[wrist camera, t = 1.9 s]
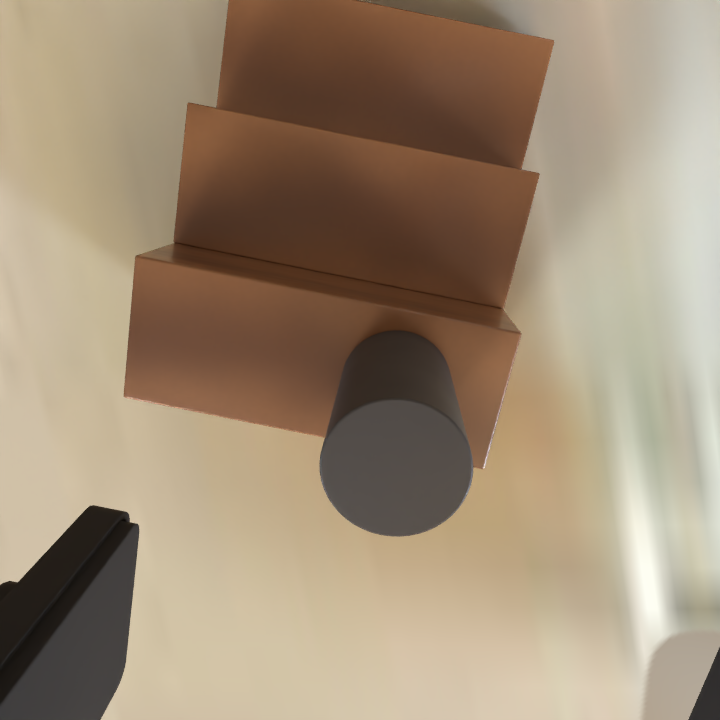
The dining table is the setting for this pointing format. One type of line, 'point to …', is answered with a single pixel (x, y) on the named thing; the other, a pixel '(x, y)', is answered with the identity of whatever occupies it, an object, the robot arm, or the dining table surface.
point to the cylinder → (396, 438)
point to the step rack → (341, 213)
